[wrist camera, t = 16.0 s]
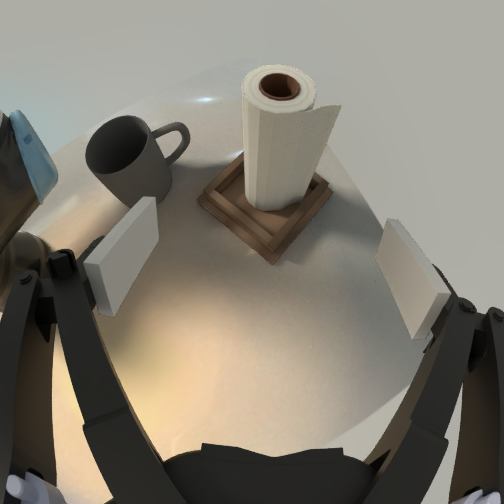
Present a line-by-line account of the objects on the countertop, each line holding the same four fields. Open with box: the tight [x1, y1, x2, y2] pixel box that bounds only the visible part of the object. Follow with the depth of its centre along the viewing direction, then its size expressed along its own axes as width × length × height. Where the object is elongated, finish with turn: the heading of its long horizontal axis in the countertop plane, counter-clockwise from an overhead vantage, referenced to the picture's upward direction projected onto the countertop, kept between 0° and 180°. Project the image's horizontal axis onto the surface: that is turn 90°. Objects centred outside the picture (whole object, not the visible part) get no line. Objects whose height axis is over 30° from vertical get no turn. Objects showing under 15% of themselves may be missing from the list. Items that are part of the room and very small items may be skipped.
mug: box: [85, 115, 190, 208], centre depth 37 cm, size 14×9×12 cm
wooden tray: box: [197, 151, 333, 265], centre depth 40 cm, size 14×14×4 cm
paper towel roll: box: [242, 65, 342, 211], centre depth 30 cm, size 7×6×21 cm
